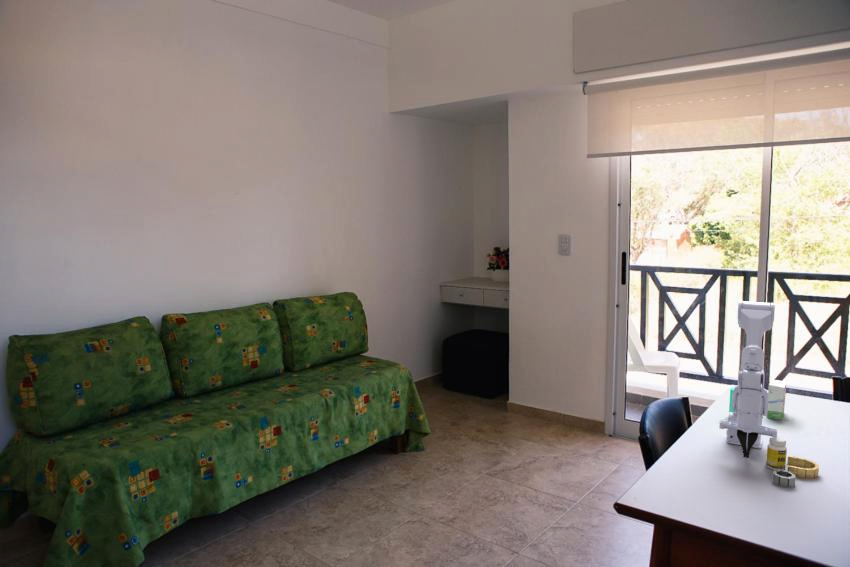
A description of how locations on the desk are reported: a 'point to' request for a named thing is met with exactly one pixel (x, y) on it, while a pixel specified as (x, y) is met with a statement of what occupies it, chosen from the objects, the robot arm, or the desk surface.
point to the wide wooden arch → (807, 470)
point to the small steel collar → (783, 478)
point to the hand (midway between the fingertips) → (746, 456)
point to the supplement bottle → (776, 453)
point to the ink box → (776, 399)
